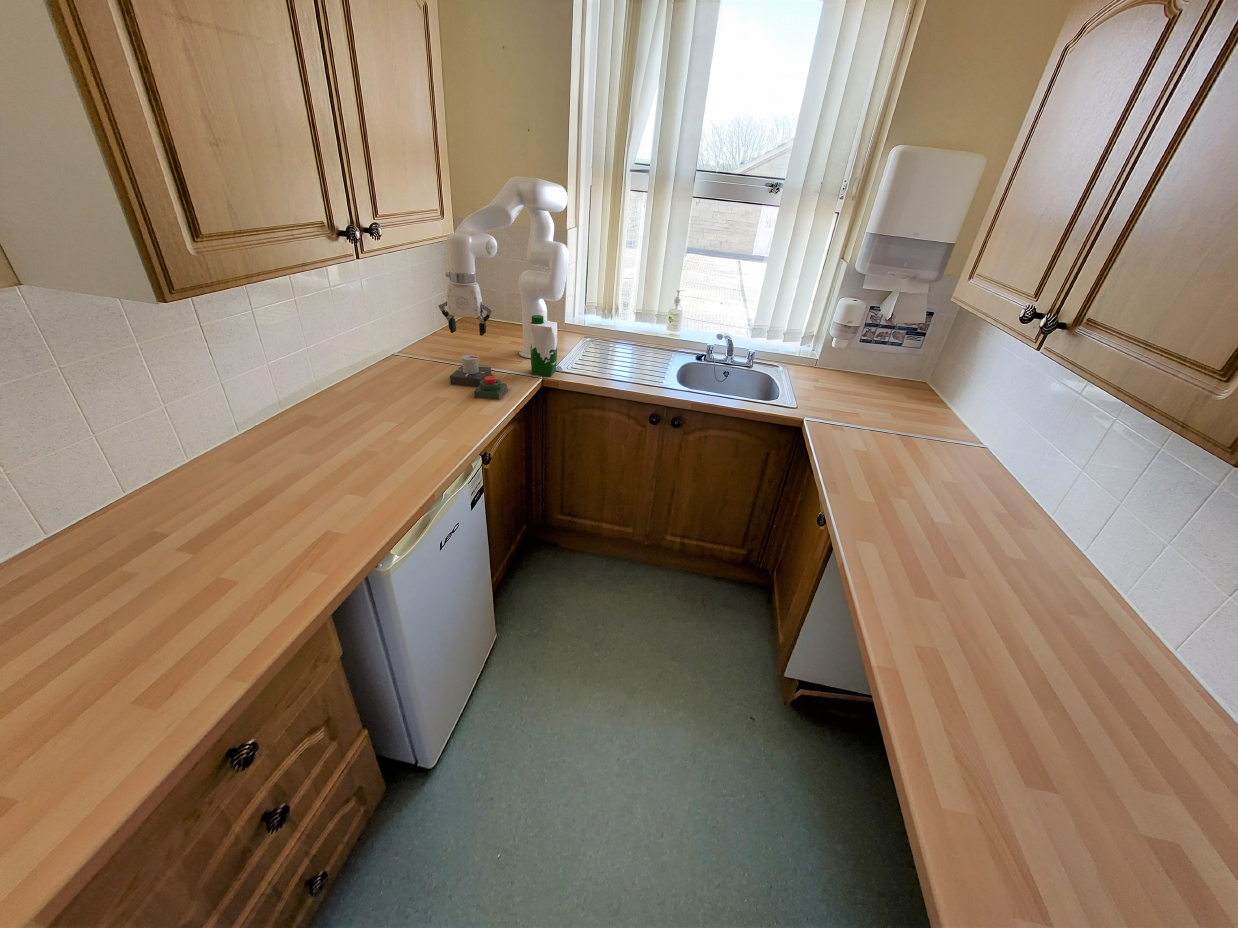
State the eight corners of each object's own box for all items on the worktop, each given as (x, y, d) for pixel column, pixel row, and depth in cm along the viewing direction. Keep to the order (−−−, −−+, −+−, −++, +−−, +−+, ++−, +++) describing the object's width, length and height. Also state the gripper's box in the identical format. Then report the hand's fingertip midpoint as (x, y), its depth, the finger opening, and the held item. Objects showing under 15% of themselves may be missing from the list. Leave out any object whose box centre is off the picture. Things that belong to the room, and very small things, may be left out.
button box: (483, 387, 160) (482, 376, 158) (507, 389, 160) (506, 378, 158) (474, 397, 152) (473, 385, 150) (499, 400, 152) (498, 388, 150)
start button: (486, 380, 156) (486, 375, 155) (497, 381, 156) (497, 376, 155) (483, 384, 153) (482, 379, 152) (494, 385, 153) (494, 380, 152)
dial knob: (460, 373, 161) (459, 357, 159) (466, 368, 166) (464, 353, 163) (475, 374, 161) (474, 359, 159) (480, 369, 166) (479, 354, 163)
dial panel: (463, 372, 170) (462, 364, 169) (491, 375, 170) (490, 366, 169) (450, 384, 160) (449, 375, 158) (480, 387, 160) (479, 378, 158)
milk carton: (535, 367, 181) (534, 313, 171) (559, 370, 180) (559, 315, 170) (528, 375, 173) (526, 318, 163) (552, 378, 172) (552, 321, 162)
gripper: (430, 277, 146) (437, 334, 154) (486, 282, 145) (490, 339, 154) (440, 273, 152) (446, 328, 161) (494, 278, 151) (497, 332, 160)
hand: (468, 333), depth 157 cm, fingers open, 9 cm apart
